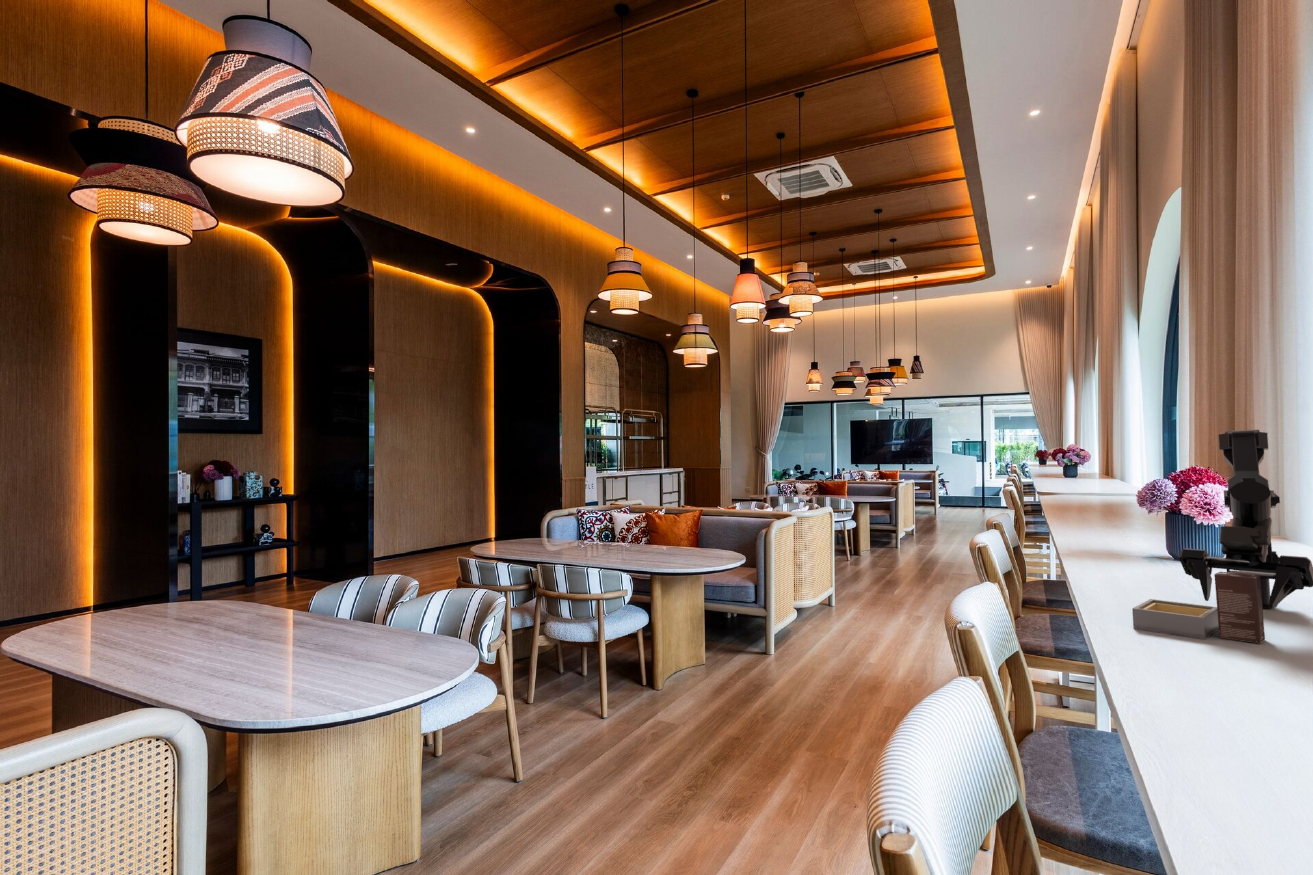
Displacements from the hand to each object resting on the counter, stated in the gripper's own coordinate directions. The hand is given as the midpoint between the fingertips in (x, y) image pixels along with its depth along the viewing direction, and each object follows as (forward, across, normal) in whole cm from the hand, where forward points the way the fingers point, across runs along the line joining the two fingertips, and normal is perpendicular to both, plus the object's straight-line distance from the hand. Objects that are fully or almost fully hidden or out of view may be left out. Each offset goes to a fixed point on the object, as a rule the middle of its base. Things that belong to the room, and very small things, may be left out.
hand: (1237, 603), depth 122 cm
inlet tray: (+3, -10, +6) cm, 12 cm away
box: (+4, 0, +6) cm, 7 cm away
